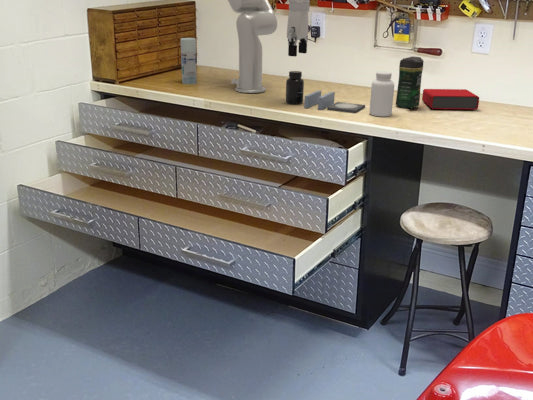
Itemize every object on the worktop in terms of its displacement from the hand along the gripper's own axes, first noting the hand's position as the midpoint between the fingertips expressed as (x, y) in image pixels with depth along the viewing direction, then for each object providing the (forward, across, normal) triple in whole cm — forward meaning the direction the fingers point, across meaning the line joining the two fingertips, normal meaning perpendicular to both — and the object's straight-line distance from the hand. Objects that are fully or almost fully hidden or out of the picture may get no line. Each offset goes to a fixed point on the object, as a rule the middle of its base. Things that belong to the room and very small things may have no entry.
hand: (297, 54), depth 239 cm
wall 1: (+18, 0, +7) cm, 20 cm away
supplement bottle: (+19, 0, 0) cm, 19 cm away
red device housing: (+19, -26, +53) cm, 62 cm away
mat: (+18, +1, +21) cm, 28 cm away
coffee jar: (+18, -15, +40) cm, 46 cm away
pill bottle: (+18, +4, +35) cm, 39 cm away
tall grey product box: (+19, -11, -55) cm, 59 cm away
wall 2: (+18, +1, +13) cm, 22 cm away
